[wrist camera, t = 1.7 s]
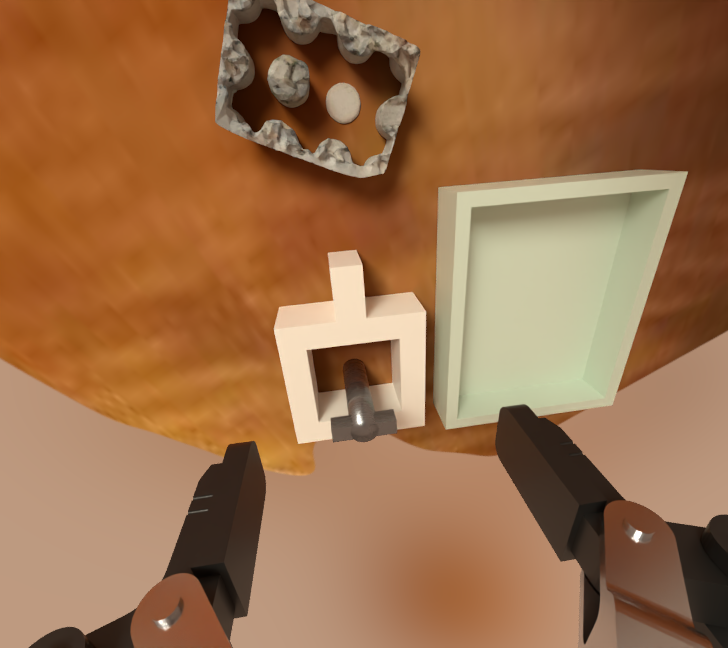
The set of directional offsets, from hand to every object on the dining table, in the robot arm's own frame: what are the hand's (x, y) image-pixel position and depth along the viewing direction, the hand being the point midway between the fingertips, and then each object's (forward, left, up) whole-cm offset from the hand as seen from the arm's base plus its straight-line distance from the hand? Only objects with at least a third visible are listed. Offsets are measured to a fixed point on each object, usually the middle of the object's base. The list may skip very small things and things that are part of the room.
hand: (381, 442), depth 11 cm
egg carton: (-12, -1, -18) cm, 22 cm away
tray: (+4, +16, -18) cm, 24 cm away
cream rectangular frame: (+6, 0, -18) cm, 19 cm away
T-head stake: (+9, 0, -18) cm, 20 cm away
